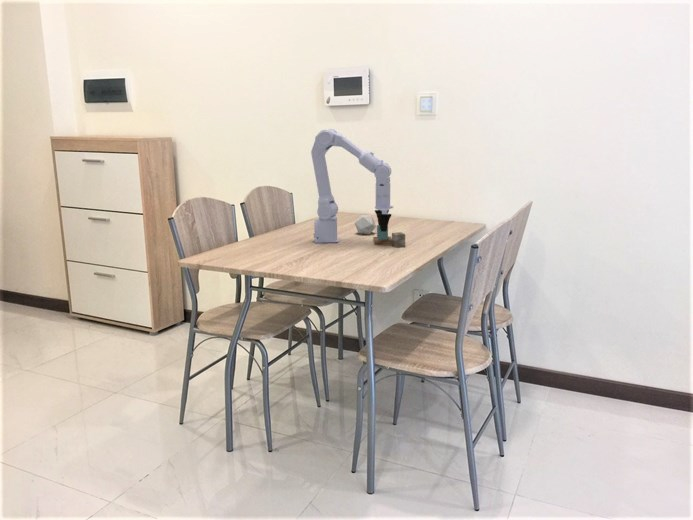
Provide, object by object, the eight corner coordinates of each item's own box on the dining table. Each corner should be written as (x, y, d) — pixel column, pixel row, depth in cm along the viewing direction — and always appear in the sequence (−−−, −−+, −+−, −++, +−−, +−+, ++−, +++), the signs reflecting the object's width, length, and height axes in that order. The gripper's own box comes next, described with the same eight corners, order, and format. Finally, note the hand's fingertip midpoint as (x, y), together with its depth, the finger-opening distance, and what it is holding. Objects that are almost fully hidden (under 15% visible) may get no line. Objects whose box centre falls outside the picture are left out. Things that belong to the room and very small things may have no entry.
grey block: (395, 247, 223) (395, 234, 222) (391, 245, 227) (391, 232, 226) (405, 246, 224) (405, 234, 223) (401, 244, 228) (401, 232, 227)
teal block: (377, 239, 228) (377, 227, 227) (376, 237, 232) (376, 225, 231) (387, 239, 229) (387, 226, 227) (386, 237, 232) (386, 225, 231)
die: (362, 237, 245) (376, 219, 243) (347, 226, 248) (361, 208, 247) (369, 241, 252) (382, 223, 251) (355, 229, 255) (368, 212, 254)
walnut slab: (374, 246, 228) (374, 240, 227) (373, 242, 235) (373, 236, 234) (392, 246, 228) (392, 240, 227) (390, 242, 235) (390, 236, 234)
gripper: (395, 197, 220) (395, 232, 223) (391, 192, 234) (390, 226, 237) (376, 197, 219) (376, 233, 223) (373, 192, 233) (373, 226, 237)
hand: (382, 229), depth 230 cm, fingers open, 7 cm apart
